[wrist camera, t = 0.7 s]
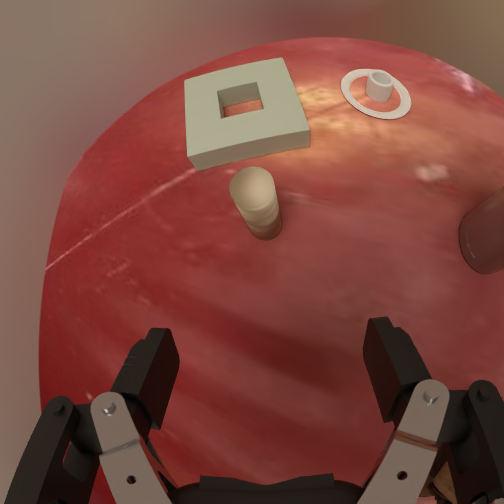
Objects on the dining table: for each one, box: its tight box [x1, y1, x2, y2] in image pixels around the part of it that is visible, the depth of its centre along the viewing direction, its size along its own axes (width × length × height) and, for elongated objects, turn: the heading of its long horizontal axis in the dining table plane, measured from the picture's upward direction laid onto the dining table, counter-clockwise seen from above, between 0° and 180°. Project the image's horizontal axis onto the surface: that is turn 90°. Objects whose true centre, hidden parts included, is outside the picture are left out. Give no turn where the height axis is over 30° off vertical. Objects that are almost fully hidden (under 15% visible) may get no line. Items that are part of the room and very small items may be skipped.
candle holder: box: [341, 69, 411, 119], centre depth 36 cm, size 12×12×4 cm
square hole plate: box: [185, 58, 310, 171], centre depth 38 cm, size 16×16×4 cm
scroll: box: [418, 442, 457, 504], centre depth 15 cm, size 15×15×20 cm
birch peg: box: [229, 167, 282, 240], centre depth 30 cm, size 4×4×11 cm
